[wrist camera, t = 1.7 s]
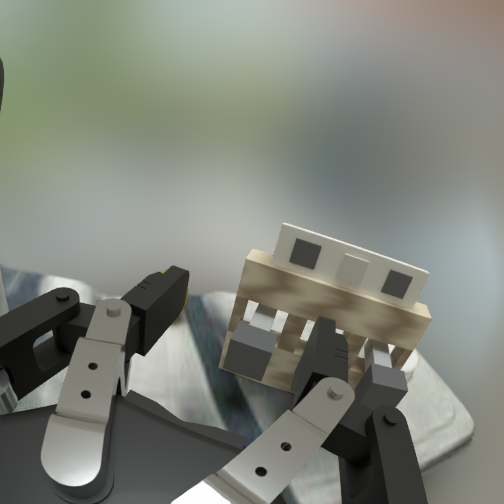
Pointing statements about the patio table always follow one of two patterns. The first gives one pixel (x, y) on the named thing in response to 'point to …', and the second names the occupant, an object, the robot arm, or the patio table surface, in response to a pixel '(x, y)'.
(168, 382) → the patio table surface
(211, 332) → the patio table surface
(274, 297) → the board
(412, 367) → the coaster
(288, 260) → the card
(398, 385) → the button right
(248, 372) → the button left
